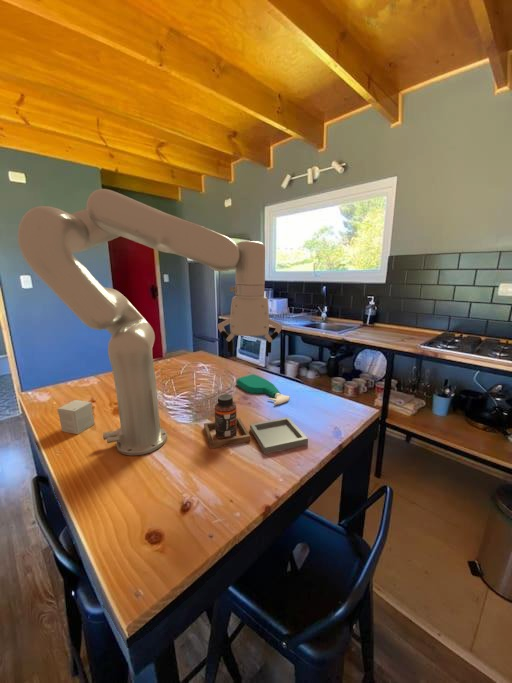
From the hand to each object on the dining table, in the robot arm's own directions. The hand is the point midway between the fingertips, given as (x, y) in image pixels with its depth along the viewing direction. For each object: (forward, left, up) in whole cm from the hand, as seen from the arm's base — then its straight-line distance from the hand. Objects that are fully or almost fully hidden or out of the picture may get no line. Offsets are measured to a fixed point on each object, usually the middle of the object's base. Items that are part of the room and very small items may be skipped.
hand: (249, 354), depth 79 cm
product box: (-48, +17, -22) cm, 55 cm away
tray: (+5, -7, -22) cm, 24 cm away
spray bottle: (+12, +22, -23) cm, 34 cm away
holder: (-8, -1, -22) cm, 23 cm away
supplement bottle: (-8, -1, -22) cm, 23 cm away
